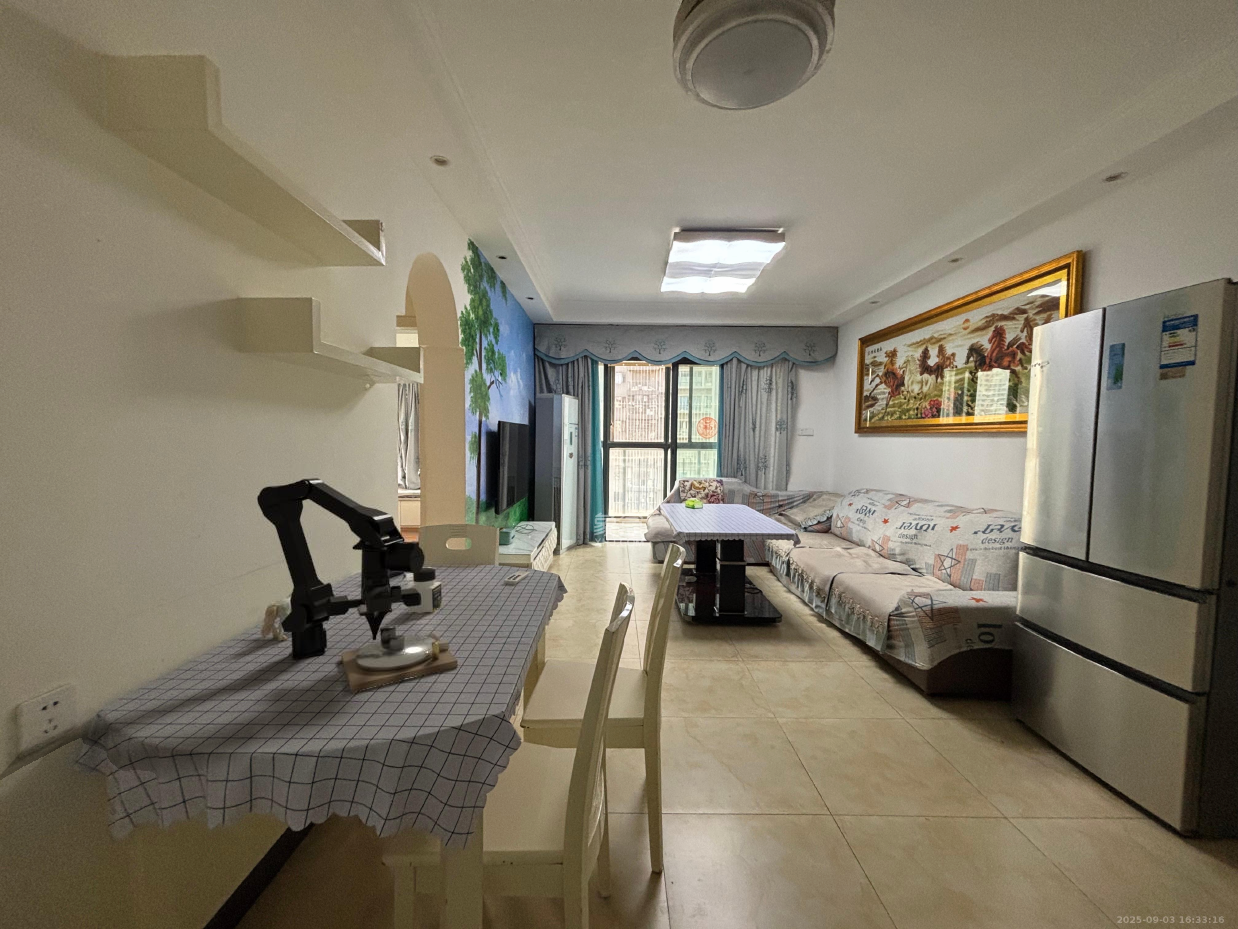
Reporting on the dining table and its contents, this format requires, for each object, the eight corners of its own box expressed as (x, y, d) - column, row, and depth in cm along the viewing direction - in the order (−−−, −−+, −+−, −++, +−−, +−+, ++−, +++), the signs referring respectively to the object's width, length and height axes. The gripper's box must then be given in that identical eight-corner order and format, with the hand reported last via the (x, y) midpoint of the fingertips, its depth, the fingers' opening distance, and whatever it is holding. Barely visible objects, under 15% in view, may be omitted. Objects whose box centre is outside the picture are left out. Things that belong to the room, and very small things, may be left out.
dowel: (433, 660, 111) (432, 644, 110) (431, 658, 112) (431, 642, 112) (440, 659, 111) (439, 643, 111) (438, 657, 112) (437, 641, 112)
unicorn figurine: (321, 619, 146) (319, 571, 145) (292, 644, 127) (290, 589, 126) (292, 622, 144) (290, 573, 144) (259, 647, 125) (256, 592, 125)
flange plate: (352, 676, 103) (352, 654, 103) (359, 649, 118) (358, 629, 118) (451, 660, 110) (450, 639, 110) (446, 635, 125) (445, 617, 125)
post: (391, 651, 111) (390, 641, 111) (388, 647, 114) (388, 637, 114) (406, 648, 113) (405, 638, 113) (403, 644, 116) (403, 634, 116)
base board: (351, 693, 100) (351, 685, 100) (341, 659, 117) (341, 652, 117) (457, 667, 111) (457, 660, 111) (434, 639, 127) (434, 633, 127)
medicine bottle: (433, 613, 149) (431, 571, 148) (408, 613, 149) (406, 571, 148) (442, 605, 156) (440, 565, 155) (418, 606, 156) (416, 565, 156)
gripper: (329, 582, 105) (328, 660, 105) (427, 573, 115) (425, 644, 115) (326, 571, 115) (325, 642, 115) (416, 563, 124) (415, 629, 125)
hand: (374, 639), depth 117 cm, fingers closed
